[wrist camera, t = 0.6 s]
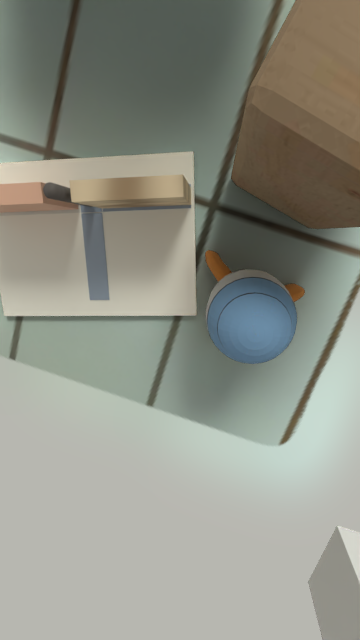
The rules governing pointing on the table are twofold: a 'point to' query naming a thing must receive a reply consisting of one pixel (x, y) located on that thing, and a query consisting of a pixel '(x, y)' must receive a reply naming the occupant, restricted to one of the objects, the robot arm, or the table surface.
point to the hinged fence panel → (29, 198)
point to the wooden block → (307, 118)
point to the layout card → (99, 245)
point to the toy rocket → (250, 312)
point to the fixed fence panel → (123, 192)
